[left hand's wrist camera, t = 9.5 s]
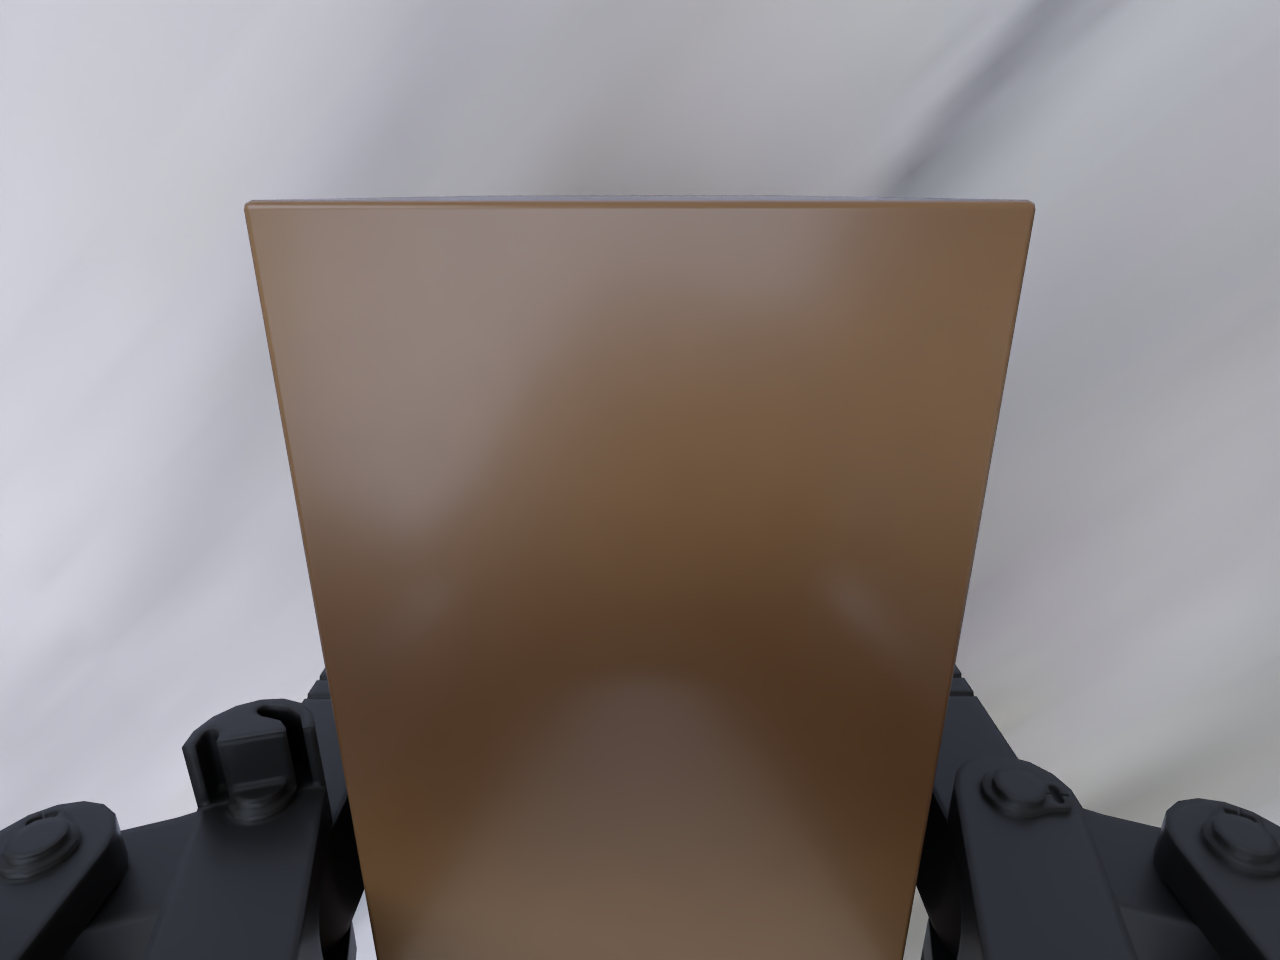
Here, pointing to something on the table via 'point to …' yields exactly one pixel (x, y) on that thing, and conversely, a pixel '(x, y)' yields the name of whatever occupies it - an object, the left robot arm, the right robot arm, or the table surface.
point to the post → (639, 552)
